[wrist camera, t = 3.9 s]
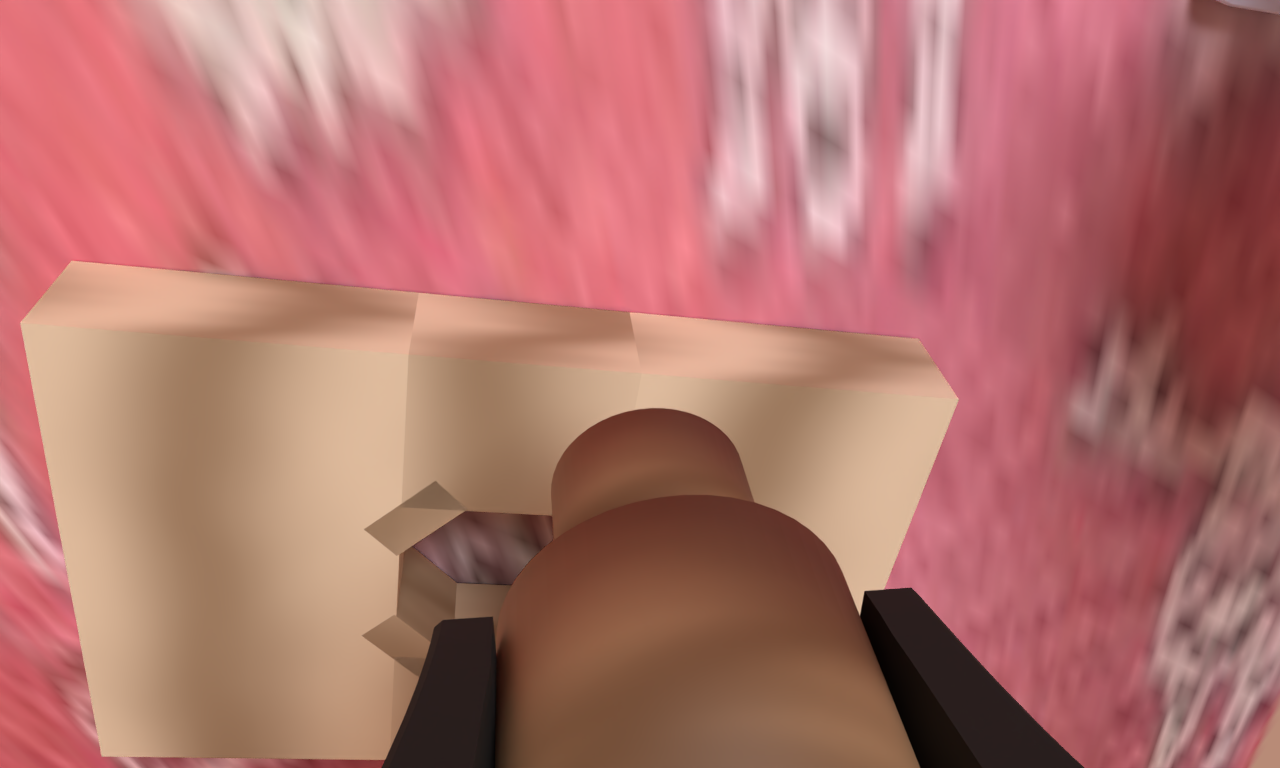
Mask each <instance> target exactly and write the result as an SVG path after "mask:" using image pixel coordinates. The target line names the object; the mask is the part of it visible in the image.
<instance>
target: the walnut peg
mask: <svg viewBox="0 0 1280 768" xmlns="http://www.w3.org/2000/svg"><path fill="white" fill-rule="evenodd" d="M551 503H552V520H553V538H554V540H553V541H552V542H551V543H549V544H548V545H547V546H545V547H544V548H543V549H542V550H541V551H540V552H539V553H538V554H537V555H536V556H535V557H534V558H533V559H532V560H530V561H529V563H528V564H527V565H526V566H525V568H524V569H523V570H522V571H521V573H520V574H519V575H518V576H517V578H516V579H515V581H514V583H513V584H512V586H511V588H510V590H509V591H508V593H507V595H506V597H505V600H504V603H503V605H502V608H501V610H500V614H499V619H498V624H497V639H496V724H495V768H920V766H919V763H918V761H917V758H916V756H915V753H914V751H913V748H912V746H911V743H910V741H909V738H908V736H907V733H906V731H905V728H904V726H903V723H902V721H901V718H900V716H899V713H898V711H897V708H896V706H895V703H894V700H893V698H892V695H891V693H890V690H889V688H888V685H887V683H886V680H885V678H884V675H883V673H882V670H881V668H880V665H879V663H878V660H877V658H876V655H875V653H874V650H873V648H872V645H871V643H870V640H869V638H868V635H867V633H866V630H865V627H864V625H863V622H862V620H861V617H860V615H859V612H858V610H857V607H856V605H855V602H854V600H853V597H852V595H851V592H850V590H849V587H848V585H847V582H846V580H845V577H844V575H843V572H842V570H841V568H840V566H839V564H838V562H837V560H836V558H835V557H834V555H833V554H832V553H831V551H830V550H829V549H828V547H827V546H826V545H825V543H824V542H823V541H822V540H821V539H819V538H818V537H817V536H816V535H815V534H814V533H813V532H812V531H811V530H810V529H808V528H807V527H805V526H804V525H802V524H801V523H799V522H798V521H797V520H795V519H793V518H791V517H789V516H787V515H785V514H783V513H781V512H779V511H777V510H775V509H772V508H769V507H767V506H764V505H761V504H758V503H755V502H754V499H753V496H752V493H751V490H750V487H749V483H748V480H747V477H746V474H745V471H744V468H743V465H742V462H741V459H740V456H739V453H738V451H737V449H736V448H735V446H734V444H733V443H732V441H731V440H730V439H729V438H728V436H727V435H726V434H725V433H724V432H722V431H721V430H720V429H719V428H718V427H716V426H715V425H714V424H712V423H711V422H709V421H707V420H705V419H703V418H701V417H699V416H696V415H694V414H691V413H688V412H684V411H680V410H675V409H666V408H646V409H637V410H632V411H627V412H623V413H620V414H617V415H614V416H611V417H609V418H607V419H605V420H602V421H600V422H598V423H597V424H595V425H593V426H592V427H590V428H588V429H587V430H586V431H584V432H583V433H582V434H581V435H579V436H578V437H577V438H576V439H575V440H574V441H573V442H572V443H571V444H570V445H569V446H568V448H567V449H566V450H565V452H564V453H563V454H562V456H561V458H560V460H559V462H558V463H557V466H556V468H555V471H554V474H553V479H552V483H551Z"/></svg>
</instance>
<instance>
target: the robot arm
mask: <svg viewBox="0 0 1280 768" xmlns="http://www.w3.org/2000/svg"><path fill="white" fill-rule="evenodd" d="M1216 1H1218V2H1220V3H1222V4H1225V5H1228V6H1230V7H1237V8H1243V9H1249V10H1255V11H1261V12H1267V13H1273V14H1279V15H1280V0H1216ZM860 617H861V620H862V622H863V625H864V627H865V630H866V633H867V635H868V638H869V640H870V643H871V645H872V648H873V650H874V653H875V655H876V658H877V660H878V663H879V665H880V668H881V670H882V673H883V675H884V678H885V680H886V683H887V685H888V688H889V690H890V693H891V695H892V698H893V700H894V703H895V706H896V708H897V711H898V713H899V716H900V718H901V721H902V723H903V726H904V728H905V731H906V733H907V736H908V738H909V741H910V743H911V746H912V748H913V751H914V753H915V756H916V758H917V761H918V763H919V766H920V768H1084V767H1083V766H1082V765H1081V764H1080V763H1079V762H1078V761H1076V760H1075V759H1074V758H1073V757H1072V756H1071V755H1070V754H1069V753H1068V752H1067V751H1066V750H1065V749H1064V748H1063V747H1062V746H1061V745H1060V744H1059V743H1058V742H1057V741H1055V740H1054V739H1053V738H1052V737H1051V736H1050V735H1049V734H1048V733H1047V732H1046V731H1045V730H1044V729H1043V728H1042V727H1041V726H1040V725H1039V724H1038V723H1037V722H1036V721H1035V720H1034V719H1033V718H1032V717H1031V716H1030V715H1029V714H1028V713H1027V711H1026V710H1025V709H1024V708H1023V707H1022V706H1021V705H1020V704H1019V703H1018V702H1017V701H1016V700H1015V699H1014V698H1013V697H1012V696H1011V695H1010V694H1009V693H1008V692H1007V691H1006V690H1005V689H1004V688H1003V687H1002V686H1001V685H1000V684H999V683H998V682H997V681H996V680H995V678H994V677H993V676H992V675H991V674H990V673H989V672H988V671H987V670H986V669H985V668H984V667H983V666H982V665H981V663H980V662H979V661H978V660H977V659H976V658H975V657H974V656H973V655H972V654H971V653H970V652H969V650H968V649H967V648H966V647H965V646H964V645H963V644H962V643H961V642H960V641H959V639H958V638H957V637H956V636H955V635H954V634H953V633H952V632H951V631H950V629H949V628H948V627H947V626H946V625H945V624H944V623H943V622H942V621H941V619H940V618H939V617H938V616H937V615H936V614H935V613H934V612H933V610H932V609H931V608H930V607H929V606H928V605H927V604H926V603H925V602H924V600H923V599H922V598H921V597H920V596H919V595H918V594H917V593H916V592H915V591H914V590H913V589H912V588H900V589H886V590H871V591H864V596H863V602H862V607H861V612H860ZM495 724H496V644H495V633H494V622H493V616H492V617H478V618H463V619H449V620H442V621H441V622H440V623H439V624H437V625H436V626H435V627H434V630H433V634H432V638H431V642H430V646H429V649H428V653H427V656H426V659H425V662H424V665H423V668H422V671H421V674H420V677H419V680H418V682H417V685H416V688H415V691H414V693H413V696H412V698H411V701H410V703H409V706H408V708H407V711H406V714H405V716H404V718H403V721H402V723H401V725H400V728H399V730H398V732H397V734H396V737H395V739H394V741H393V743H392V746H391V748H390V750H389V752H388V755H387V757H386V759H385V761H384V764H383V766H382V768H495Z"/></svg>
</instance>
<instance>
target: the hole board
mask: <svg viewBox="0 0 1280 768" xmlns="http://www.w3.org/2000/svg"><path fill="white" fill-rule="evenodd" d="M20 324H21V329H22V335H23V340H24V345H25V351H26V356H27V361H28V367H29V372H30V377H31V383H32V388H33V393H34V399H35V404H36V409H37V415H38V420H39V425H40V431H41V436H42V441H43V446H44V452H45V457H46V462H47V468H48V473H49V478H50V484H51V489H52V494H53V500H54V505H55V510H56V516H57V521H58V526H59V532H60V537H61V542H62V548H63V553H64V558H65V564H66V569H67V574H68V580H69V585H70V590H71V596H72V601H73V606H74V612H75V617H76V622H77V628H78V633H79V638H80V644H81V649H82V654H83V660H84V665H85V670H86V676H87V681H88V686H89V691H90V697H91V702H92V707H93V713H94V718H95V723H96V729H97V734H98V739H99V745H100V750H101V755H102V756H112V757H191V758H269V759H348V760H385V759H386V757H387V755H388V752H389V750H390V748H391V746H392V743H393V741H394V739H395V737H396V734H397V732H398V730H399V728H400V725H401V723H402V721H403V718H404V716H405V714H406V711H407V708H408V706H409V703H410V701H411V698H412V696H413V693H414V691H415V688H416V685H417V682H418V680H419V677H420V674H421V671H422V668H423V665H424V662H425V659H426V656H427V653H428V649H429V646H430V642H431V638H432V634H433V630H434V627H435V626H436V625H437V624H439V623H440V622H441V621H442V620H449V619H463V618H478V617H492V616H493V622H494V633H495V644H496V639H497V624H498V619H499V614H500V610H501V608H502V605H503V603H504V600H505V597H506V595H507V593H508V591H509V590H510V588H511V586H512V585H490V584H467V583H456V582H455V581H454V580H453V579H451V578H450V577H449V576H448V575H446V574H445V573H444V572H443V571H442V570H440V569H439V568H438V567H437V566H435V565H434V564H433V563H432V562H431V561H429V560H428V559H427V558H426V557H424V556H423V555H422V554H421V553H420V552H418V551H417V550H416V549H415V548H413V547H412V546H413V545H414V544H416V543H417V542H419V541H420V540H422V539H423V538H425V537H426V536H428V535H429V534H431V533H432V532H434V531H436V530H437V529H439V528H440V527H442V526H443V525H445V524H446V523H448V522H449V521H451V520H452V519H454V518H455V517H457V516H458V515H460V514H461V513H463V512H464V511H476V512H494V513H512V514H530V515H548V516H552V503H551V483H552V479H553V474H554V471H555V468H556V466H557V463H558V462H559V460H560V458H561V456H562V454H563V453H564V452H565V450H566V449H567V448H568V446H569V445H570V444H571V443H572V442H573V441H574V440H575V439H576V438H577V437H578V436H579V435H581V434H582V433H583V432H584V431H586V430H587V429H588V428H590V427H592V426H593V425H595V424H597V423H598V422H600V421H602V420H605V419H607V418H609V417H611V416H614V415H617V414H620V413H623V412H627V411H632V410H637V409H646V408H666V409H675V410H680V411H684V412H688V413H691V414H694V415H696V416H699V417H701V418H703V419H705V420H707V421H709V422H711V423H712V424H714V425H715V426H716V427H718V428H719V429H720V430H721V431H722V432H724V433H725V434H726V435H727V436H728V438H729V439H730V440H731V441H732V443H733V444H734V446H735V448H736V449H737V451H738V453H739V456H740V459H741V462H742V465H743V468H744V471H745V474H746V477H747V480H748V483H749V487H750V490H751V493H752V496H753V499H754V502H755V503H758V504H761V505H764V506H767V507H769V508H772V509H775V510H777V511H779V512H781V513H783V514H785V515H787V516H789V517H791V518H793V519H795V520H797V521H798V522H799V523H801V524H802V525H804V526H805V527H807V528H808V529H810V530H811V531H812V532H813V533H814V534H815V535H816V536H817V537H818V538H819V539H821V540H822V541H823V542H824V543H825V545H826V546H827V547H828V549H829V550H830V551H831V553H832V554H833V555H834V557H835V558H836V560H837V562H838V564H839V566H840V568H841V570H842V572H843V575H844V577H845V580H846V582H847V585H848V587H849V590H850V592H851V595H852V597H853V600H854V602H855V605H856V607H857V610H858V612H859V615H860V612H861V607H862V602H863V596H864V591H871V590H884V588H885V585H886V583H887V580H888V578H889V575H890V573H891V570H892V568H893V565H894V563H895V560H896V558H897V555H898V552H899V550H900V547H901V545H902V542H903V540H904V537H905V535H906V532H907V530H908V527H909V525H910V522H911V519H912V517H913V514H914V512H915V509H916V507H917V504H918V502H919V499H920V497H921V494H922V492H923V489H924V487H925V484H926V481H927V479H928V476H929V474H930V471H931V469H932V466H933V464H934V461H935V459H936V456H937V454H938V451H939V448H940V446H941V443H942V441H943V438H944V436H945V433H946V431H947V428H948V426H949V423H950V421H951V418H952V415H953V413H954V410H955V408H956V405H957V403H958V400H959V399H958V397H957V396H956V394H955V393H954V391H953V390H952V388H951V387H950V385H949V384H948V382H947V381H946V379H945V378H944V376H943V375H942V373H941V372H940V370H939V369H938V367H937V366H936V364H935V363H934V361H933V360H932V358H931V357H930V355H929V354H928V352H927V351H926V349H925V348H924V346H923V345H922V343H921V342H920V340H919V339H915V338H904V337H893V336H882V335H871V334H860V333H850V332H839V331H828V330H817V329H806V328H795V327H785V326H774V325H763V324H752V323H741V322H730V321H720V320H709V319H698V318H687V317H676V316H665V315H654V314H644V313H633V312H622V311H611V310H600V309H589V308H579V307H568V306H557V305H546V304H535V303H524V302H514V301H503V300H492V299H481V298H470V297H459V296H449V295H438V294H427V293H416V292H405V291H394V290H383V289H373V288H362V287H351V286H340V285H329V284H318V283H308V282H297V281H286V280H275V279H264V278H253V277H243V276H232V275H221V274H210V273H199V272H188V271H178V270H167V269H156V268H145V267H134V266H123V265H113V264H102V263H91V262H80V261H71V262H70V263H69V265H68V266H67V267H66V268H65V269H64V271H63V272H62V273H61V274H60V275H59V277H58V278H57V279H56V280H55V281H54V283H53V284H52V285H51V286H50V288H49V289H48V290H47V291H46V292H45V294H44V295H43V296H42V297H41V298H40V300H39V301H38V302H37V303H36V304H35V306H34V307H33V308H32V309H31V311H30V312H29V313H28V314H27V315H26V317H25V318H24V319H23V320H22V321H21V323H20Z"/></svg>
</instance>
